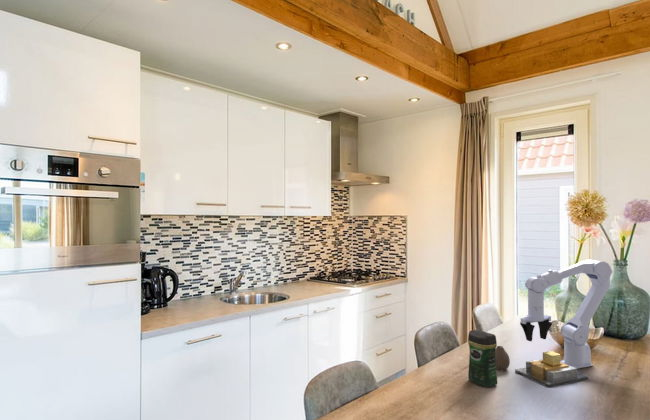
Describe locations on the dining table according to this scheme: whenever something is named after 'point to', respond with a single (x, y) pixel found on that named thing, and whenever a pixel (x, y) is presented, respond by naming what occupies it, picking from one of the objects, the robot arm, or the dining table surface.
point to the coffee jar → (482, 358)
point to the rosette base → (548, 382)
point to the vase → (501, 359)
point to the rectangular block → (551, 358)
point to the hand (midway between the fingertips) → (536, 339)
